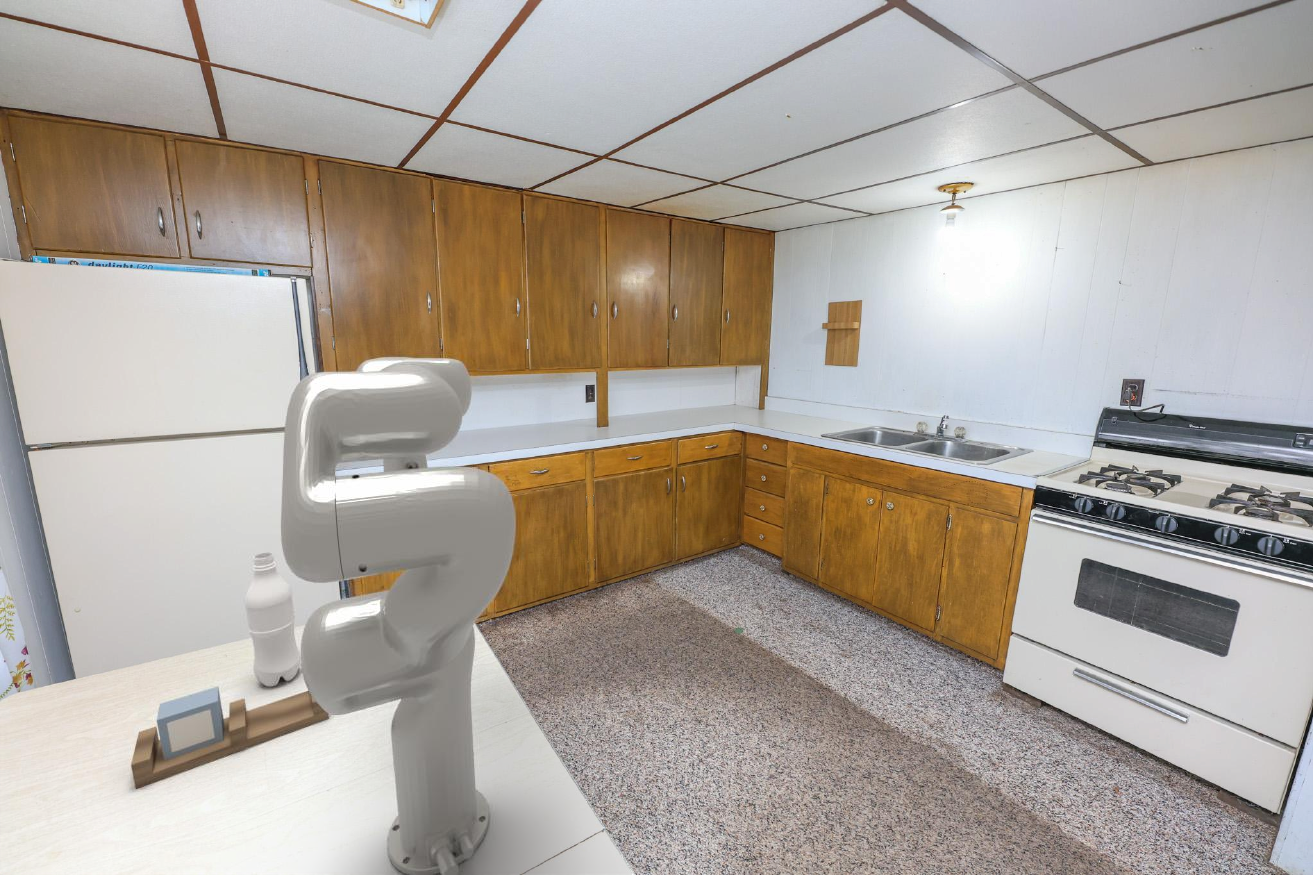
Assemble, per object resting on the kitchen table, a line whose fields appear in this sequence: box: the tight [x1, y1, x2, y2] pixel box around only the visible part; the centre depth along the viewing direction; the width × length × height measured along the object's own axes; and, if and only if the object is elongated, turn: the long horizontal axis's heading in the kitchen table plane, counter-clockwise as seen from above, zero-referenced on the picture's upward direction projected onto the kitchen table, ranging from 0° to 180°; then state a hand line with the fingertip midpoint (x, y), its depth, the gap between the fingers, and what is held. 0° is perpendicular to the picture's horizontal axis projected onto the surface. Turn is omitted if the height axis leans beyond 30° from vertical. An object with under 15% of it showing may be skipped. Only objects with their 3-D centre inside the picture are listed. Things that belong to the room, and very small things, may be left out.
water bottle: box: [244, 551, 301, 687], centre depth 99 cm, size 7×7×25 cm
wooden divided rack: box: [130, 690, 330, 789], centre depth 87 cm, size 8×24×4 cm, turn 128°
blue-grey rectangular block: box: [156, 686, 225, 761], centre depth 83 cm, size 4×7×7 cm, turn 128°
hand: (409, 540), depth 86 cm, fingers open, 9 cm apart
